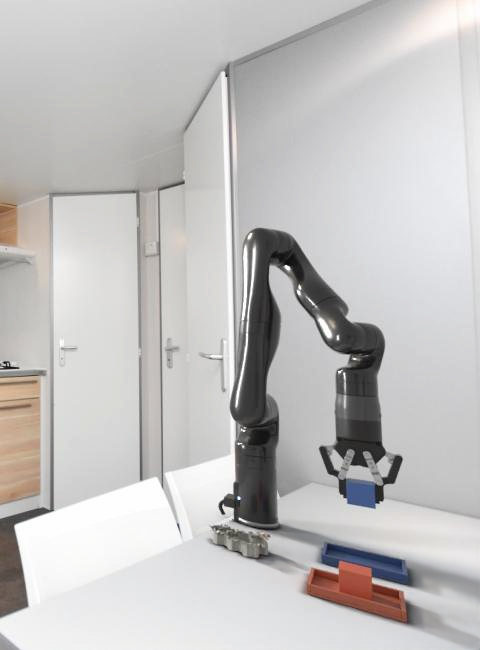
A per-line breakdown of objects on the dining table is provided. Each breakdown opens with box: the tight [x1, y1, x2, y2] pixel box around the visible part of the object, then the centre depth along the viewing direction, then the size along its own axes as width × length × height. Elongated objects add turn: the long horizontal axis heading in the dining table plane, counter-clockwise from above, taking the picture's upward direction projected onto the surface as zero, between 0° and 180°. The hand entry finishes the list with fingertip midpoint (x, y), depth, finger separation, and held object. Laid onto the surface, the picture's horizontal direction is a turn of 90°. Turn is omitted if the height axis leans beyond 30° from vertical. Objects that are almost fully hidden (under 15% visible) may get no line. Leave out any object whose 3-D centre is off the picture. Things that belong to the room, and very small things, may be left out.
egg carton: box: [208, 523, 271, 559], centre depth 105 cm, size 11×8×4 cm
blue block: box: [346, 477, 377, 510], centre depth 98 cm, size 4×4×4 cm
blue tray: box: [320, 541, 409, 586], centre depth 97 cm, size 13×9×2 cm
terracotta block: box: [338, 561, 373, 601], centre depth 84 cm, size 4×4×4 cm
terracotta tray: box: [306, 566, 408, 623], centre depth 84 cm, size 13×9×2 cm
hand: (361, 499), depth 98 cm, fingers closed on blue block, 4 cm apart
